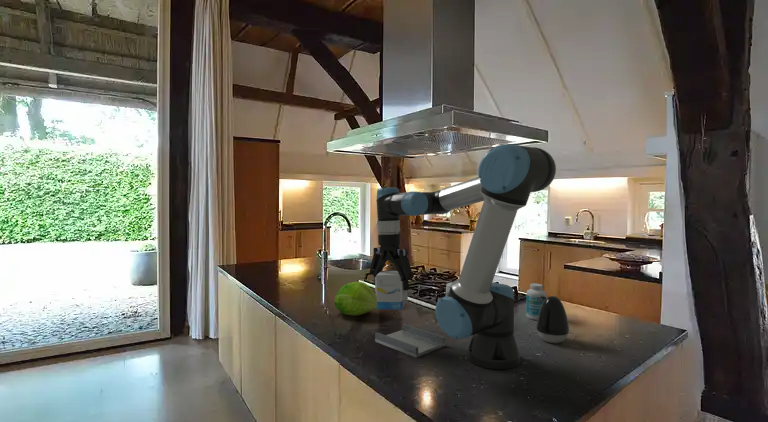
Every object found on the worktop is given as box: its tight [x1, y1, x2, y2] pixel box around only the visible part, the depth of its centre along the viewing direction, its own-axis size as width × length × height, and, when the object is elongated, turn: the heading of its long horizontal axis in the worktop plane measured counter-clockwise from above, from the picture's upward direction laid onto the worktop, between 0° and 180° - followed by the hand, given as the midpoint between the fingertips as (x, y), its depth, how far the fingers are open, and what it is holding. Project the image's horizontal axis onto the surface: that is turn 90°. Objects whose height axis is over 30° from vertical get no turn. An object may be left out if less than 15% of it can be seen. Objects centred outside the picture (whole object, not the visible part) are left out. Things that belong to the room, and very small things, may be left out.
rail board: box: [374, 323, 446, 359], centre depth 137 cm, size 19×14×3 cm
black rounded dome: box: [535, 295, 570, 344], centre depth 138 cm, size 10×10×15 cm
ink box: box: [376, 270, 406, 311], centre depth 138 cm, size 9×8×12 cm
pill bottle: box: [525, 282, 547, 321], centre depth 163 cm, size 8×7×14 cm
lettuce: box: [333, 281, 378, 317], centre depth 170 cm, size 15×20×14 cm
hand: (391, 297), depth 138 cm, fingers closed on ink box, 11 cm apart
